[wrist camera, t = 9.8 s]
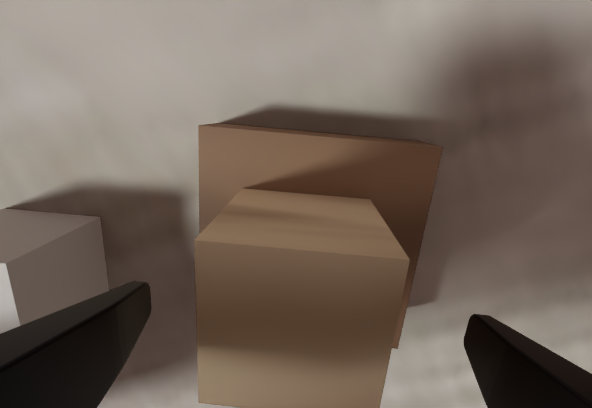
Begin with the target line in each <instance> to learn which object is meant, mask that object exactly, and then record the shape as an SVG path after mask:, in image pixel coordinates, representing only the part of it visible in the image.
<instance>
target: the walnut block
mask: <svg viewBox="0 0 592 408" xmlns="http://www.w3.org/2000/svg"><path fill="white" fill-rule="evenodd" d="M442 149H443V147H439V146H435V145H432V144H428V143H424V142H421V141H412V140H401V139H390V138H379V137H368V136H356V135H345V134H334V133H323V132H312V131H301V130H290V129H279V128H268V127H257V126H246V125H235V124H224V123H215V124H206V125H199V224H200V233H201V232H202V231H203V230H204V229H205V228H206V227H207V226H208V225H209V224H210V222H211V221H212V220H213V219H214V218H215V217H216V216H217V215H218V214H219V213H220V212H221V211H222V209H223V208H224V207H225V206H226V205H227V204H228V203H229V202H230V201H231V200H232V199H233V198H234V196H235V195H236V194H237V193H238V192H239V191H240V190H241V189H242V188H244V189H255V190H267V191H279V192H290V193H302V194H314V195H326V196H337V197H349V198H361V199H370V200H371V201H372V203H373V204H374V206H375V207H376V209H377V210H378V212H379V213H380V215H381V217H382V218H383V220H384V221H385V223H386V224H387V226H388V227H389V229H390V230H391V232H392V233H393V235H394V236H395V238H396V239H397V241H398V242H399V244H400V245H401V247H402V248H403V250H404V252H405V253H406V255H407V256H408V258H409V259H410V262H409V266H408V271H407V276H406V281H405V286H404V291H403V296H402V301H401V305H400V310H399V315H398V320H397V325H396V330H395V335H394V339H393V344H392V348H396V349H398V345H399V340H400V336H401V331H402V327H403V322H404V318H405V314H406V309H407V305H408V300H409V296H410V291H411V287H412V282H413V278H414V274H415V269H416V265H417V260H418V256H419V251H420V247H421V243H422V238H423V234H424V229H425V225H426V220H427V216H428V211H429V207H430V203H431V198H432V194H433V189H434V185H435V180H436V176H437V172H438V167H439V163H440V158H441V154H442Z"/></svg>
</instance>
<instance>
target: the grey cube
mask: <svg viewBox="0 0 592 408" xmlns="http://www.w3.org/2000/svg"><path fill="white" fill-rule="evenodd" d="M107 291H109V284H108V276H107V268H106V260H105V252H104V244H103V236H102V228H101V220H100V217H96V216H84V215H73V214H62V213H50V212H39V211H28V210H16V209H5V208H4V209H1V210H0V334H1V333H3V332H6V331H8V330H11V329H13V328H16V327H18V326H21V325H23V324H26V323H29V322H31V321H34V320H36V319H39V318H41V317H44V316H46V315H49V314H51V313H54V312H56V311H59V310H61V309H64V308H67V307H69V306H72V305H74V304H77V303H79V302H82V301H84V300H87V299H89V298H92V297H94V296H97V295H99V294H102V293H105V292H107Z"/></svg>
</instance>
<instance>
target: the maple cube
mask: <svg viewBox="0 0 592 408" xmlns="http://www.w3.org/2000/svg"><path fill="white" fill-rule="evenodd" d="M194 251H195V288H196V325H197V361H198V398H199V403H205V404H214V405H223V406H233V407H242V408H380V403H381V398H382V393H383V388H384V383H385V378H386V374H387V369H388V364H389V359H390V354H391V349H392V344H393V339H394V335H395V330H396V325H397V320H398V315H399V310H400V305H401V301H402V296H403V291H404V286H405V281H406V276H407V271H408V266H409V262H410V259H409V258H408V256H407V255H406V253H405V252H404V250H403V248H402V247H401V245H400V244H399V242H398V241H397V239H396V238H395V236H394V235H393V233H392V232H391V230H390V229H389V227H388V226H387V224H386V223H385V221H384V220H383V218H382V217H381V215H380V213H379V212H378V210H377V209H376V207H375V206H374V204H373V203H372V201H371V200H370V199H361V198H349V197H337V196H326V195H314V194H302V193H290V192H279V191H267V190H255V189H244V188H242V189H241V190H240V191H239V192H238V193H237V194H236V195H235V196H234V198H233V199H232V200H231V201H230V202H229V203H228V204H227V205H226V206H225V207H224V208H223V209H222V211H221V212H220V213H219V214H218V215H217V216H216V217H215V218H214V219H213V220H212V221H211V222H210V224H209V225H208V226H207V227H206V228H205V229H204V230H203V231H202V232H201V233H200V234H199V235H198V237H197V238H196V239H195V240H194Z"/></svg>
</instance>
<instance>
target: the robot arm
mask: <svg viewBox="0 0 592 408" xmlns="http://www.w3.org/2000/svg"><path fill="white" fill-rule="evenodd" d="M150 313H151V296H150V286H149V284H148V283H146V282H137V281H133V282H130V283H127V284H125V285H122V286H120V287H117V288H115V289H112V290H110V291H107V292H105V293H102V294H99V295H97V296H94V297H92V298H89V299H87V300H84V301H82V302H79V303H77V304H74V305H72V306H69V307H67V308H64V309H61V310H59V311H56V312H54V313H51V314H49V315H46V316H44V317H41V318H39V319H36V320H34V321H31V322H29V323H26V324H23V325H21V326H18V327H16V328H13V329H11V330H8V331H6V332H3V333H1V334H0V408H97V407H98V405H99V404H100V402H101V401H102V399H103V398H104V396H105V394H106V393H107V391H108V390H109V388H110V387H111V385H112V384H113V382H114V381H115V379H116V377H117V376H118V374H119V373H120V371H121V369H122V368H123V366H124V364H125V362H126V361H127V359H128V357H129V355H130V353H131V351H132V349H133V347H134V345H135V343H136V341H137V340H138V338H139V336H140V334H141V332H142V330H143V328H144V326H145V324H146V322H147V320H148V318H149V316H150ZM464 347H465V350H466V353H467V356H468V358H469V361H470V364H471V366H472V369H473V372H474V374H475V377H476V379H477V382H478V385H479V387H480V390H481V393H482V395H483V398H484V400H485V403H486V405H487V407H488V408H592V374H591V373H589V372H587V371H586V370H584V369H582V368H580V367H578V366H577V365H575V364H573V363H571V362H570V361H568V360H566V359H564V358H563V357H561V356H559V355H557V354H556V353H554V352H552V351H550V350H549V349H547V348H545V347H543V346H542V345H540V344H538V343H536V342H535V341H533V340H531V339H529V338H528V337H526V336H524V335H522V334H521V333H519V332H517V331H515V330H514V329H512V328H510V327H508V326H507V325H505V324H503V323H501V322H500V321H498V320H496V319H494V318H493V317H491V316H488V315H480V314H473V315H472V316H471V317H470V319H469V322H468V326H467V329H466V333H465V336H464Z"/></svg>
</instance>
